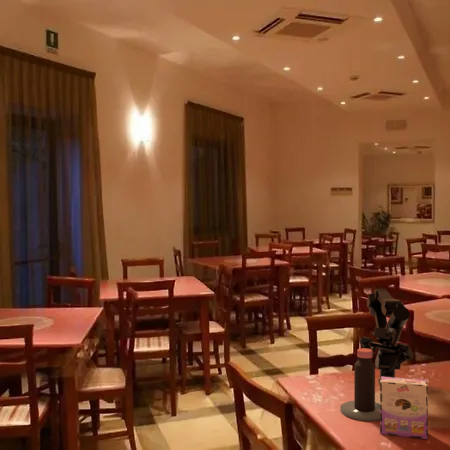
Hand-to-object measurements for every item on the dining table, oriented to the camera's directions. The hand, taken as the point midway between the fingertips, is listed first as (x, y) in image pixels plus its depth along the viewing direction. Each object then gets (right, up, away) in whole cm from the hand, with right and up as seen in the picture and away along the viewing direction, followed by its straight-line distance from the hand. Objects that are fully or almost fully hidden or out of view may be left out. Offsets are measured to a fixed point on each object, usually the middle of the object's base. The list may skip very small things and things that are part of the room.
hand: (377, 367), depth 189 cm
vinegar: (-6, -12, -7) cm, 16 cm away
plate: (-7, -13, -8) cm, 16 cm away
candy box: (+1, -14, -25) cm, 28 cm away
